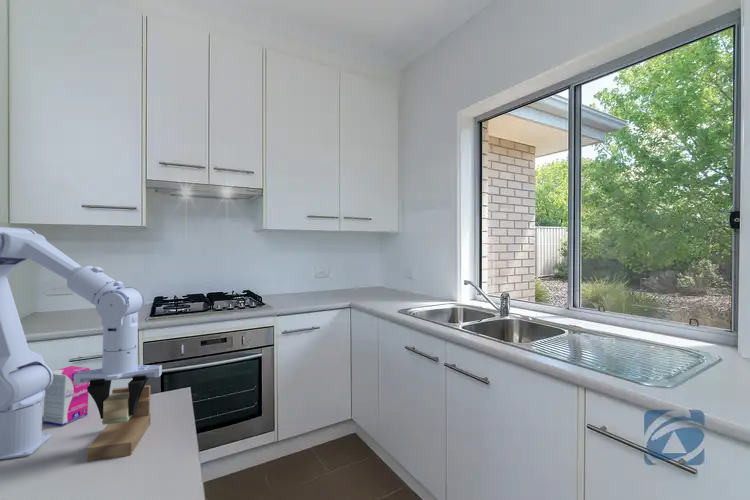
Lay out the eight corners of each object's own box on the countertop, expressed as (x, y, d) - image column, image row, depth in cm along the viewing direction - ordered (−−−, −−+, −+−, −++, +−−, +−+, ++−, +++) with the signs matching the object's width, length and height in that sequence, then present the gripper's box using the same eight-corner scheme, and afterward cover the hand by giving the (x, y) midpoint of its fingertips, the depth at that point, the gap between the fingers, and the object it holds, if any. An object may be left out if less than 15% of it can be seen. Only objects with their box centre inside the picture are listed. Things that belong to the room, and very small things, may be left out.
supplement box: (63, 426, 78) (64, 375, 78) (42, 423, 79) (43, 373, 80) (89, 415, 84) (90, 367, 84) (69, 412, 85) (70, 365, 85)
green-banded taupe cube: (102, 425, 68) (102, 401, 68) (110, 415, 72) (111, 393, 72) (127, 422, 70) (127, 399, 70) (134, 412, 74) (134, 391, 74)
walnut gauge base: (87, 461, 66) (88, 413, 66) (114, 428, 78) (115, 387, 78) (130, 455, 68) (131, 408, 68) (150, 423, 80) (151, 384, 80)
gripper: (66, 356, 65) (64, 429, 65) (155, 350, 70) (154, 419, 70) (84, 346, 72) (82, 413, 72) (164, 341, 76) (163, 404, 76)
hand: (118, 415), depth 71 cm, fingers closed on green-banded taupe cube, 4 cm apart
